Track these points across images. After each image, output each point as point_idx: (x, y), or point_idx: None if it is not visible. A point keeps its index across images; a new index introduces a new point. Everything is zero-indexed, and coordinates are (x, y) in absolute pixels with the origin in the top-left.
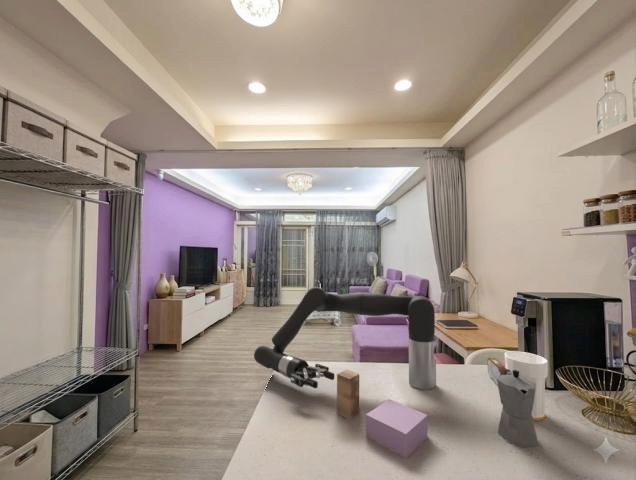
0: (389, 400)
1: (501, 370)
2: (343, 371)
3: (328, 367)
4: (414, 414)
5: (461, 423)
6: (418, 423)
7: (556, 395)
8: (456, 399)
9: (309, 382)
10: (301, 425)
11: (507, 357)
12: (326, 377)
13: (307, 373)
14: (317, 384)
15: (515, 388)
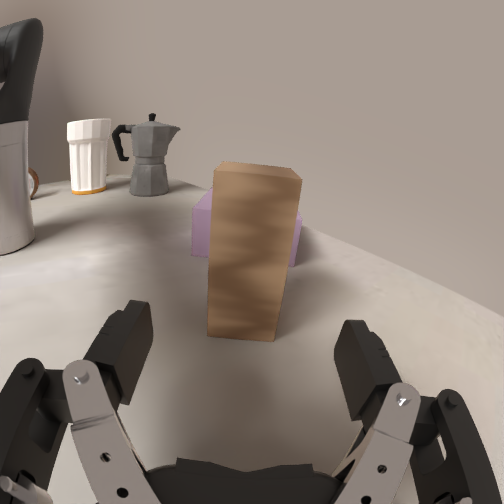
0: (198, 207)
1: (31, 171)
2: (250, 172)
3: (23, 361)
4: None
5: (143, 209)
6: None
7: (46, 185)
8: (66, 214)
9: (389, 367)
10: (422, 366)
11: (92, 120)
12: (133, 389)
13: (330, 484)
14: (341, 333)
15: (170, 127)
